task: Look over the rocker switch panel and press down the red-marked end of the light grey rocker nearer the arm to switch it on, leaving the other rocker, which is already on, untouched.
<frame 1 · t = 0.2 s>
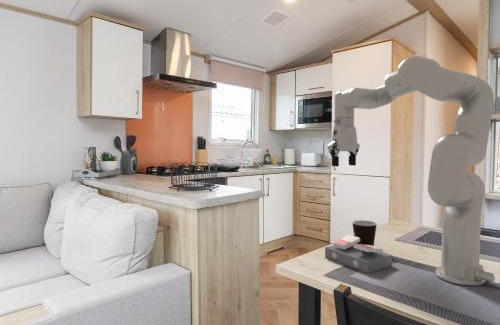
hand: (343, 165, 136), 31 cm above the table, tool pointing down, fingers open, 9 cm apart
rocker b: (346, 241, 119), point 6 cm above the table, hinge at -12.0°
rocker switch panel: (357, 261, 115), on the table
coffee mug: (365, 248, 129), on the table
rocker a: (368, 248, 111), point 6 cm above the table, hinge at 12.0°
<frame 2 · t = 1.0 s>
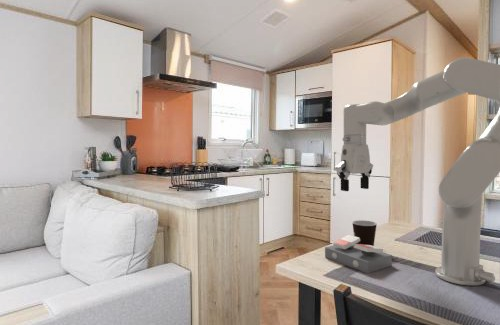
hand: (354, 189, 119), 24 cm above the table, tool pointing down, fingers open, 9 cm apart
nothing on the table moved.
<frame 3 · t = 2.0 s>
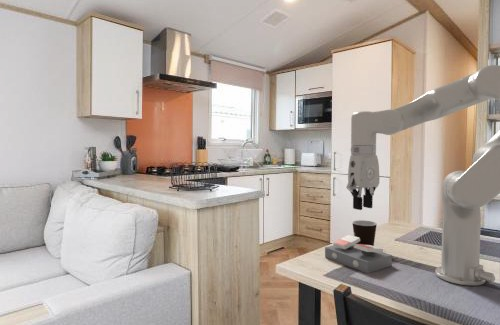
hand: (362, 207, 109), 19 cm above the table, tool pointing down, fingers open, 4 cm apart
nothing on the table moved.
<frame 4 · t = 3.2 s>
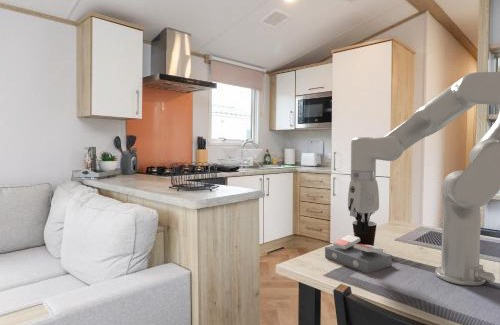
hand: (362, 233, 109), 11 cm above the table, tool pointing down, fingers closed
nothing on the table moved.
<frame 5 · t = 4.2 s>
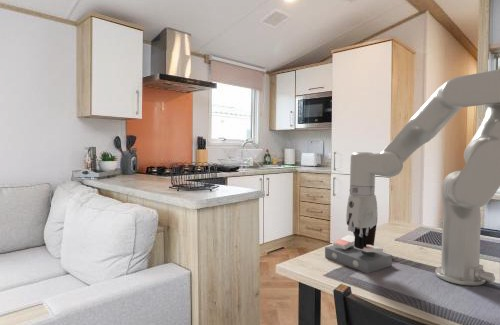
hand: (360, 247, 109), 6 cm above the table, tool pointing down, fingers closed
rocker a: (368, 248, 111), point 6 cm above the table, hinge at 10.6°, touching gripper
everything else where it was.
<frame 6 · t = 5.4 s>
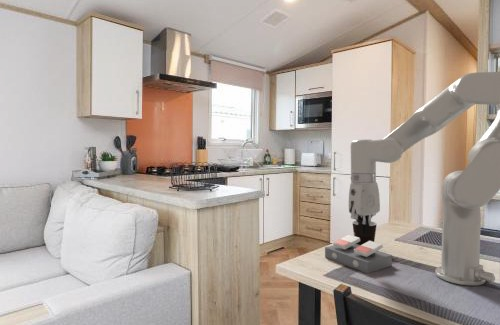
hand: (363, 235, 109), 10 cm above the table, tool pointing down, fingers closed
rocker a: (368, 248, 111), point 6 cm above the table, hinge at -11.6°
everything else where it was.
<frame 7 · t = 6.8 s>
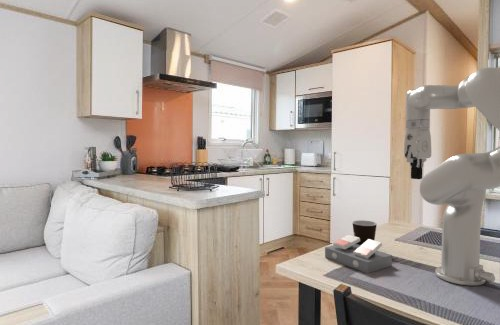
hand: (416, 178, 118), 27 cm above the table, tool pointing down, fingers closed
rocker a: (367, 248, 111), point 6 cm above the table, hinge at -22.8°, touching rocker switch panel
everything else where it was.
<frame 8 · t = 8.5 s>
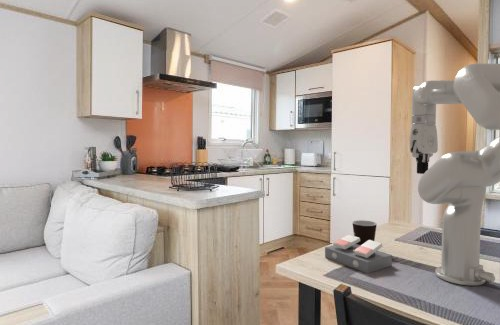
hand: (422, 173, 120), 29 cm above the table, tool pointing down, fingers closed
rocker a: (367, 248, 111), point 6 cm above the table, hinge at -17.6°
everything else where it was.
at the end: rocker a at -18° (first picture: +12°); rocker b at -12° (first picture: -12°); coffee mug moved 0.2 cm from its start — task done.
